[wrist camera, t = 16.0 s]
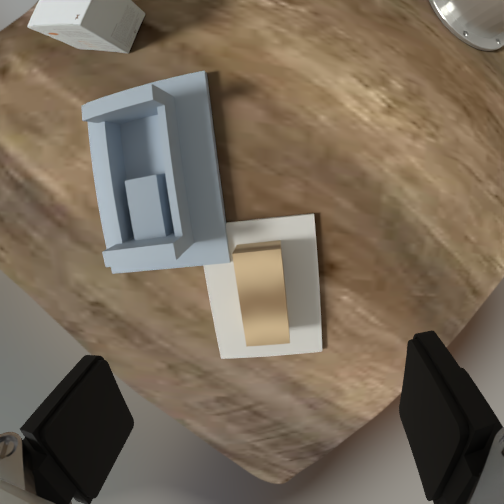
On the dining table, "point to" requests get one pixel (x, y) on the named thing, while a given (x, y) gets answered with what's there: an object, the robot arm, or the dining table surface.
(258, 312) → the oak block
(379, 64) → the dining table surface
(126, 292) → the dining table surface
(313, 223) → the mat
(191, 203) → the jig
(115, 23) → the small box
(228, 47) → the dining table surface
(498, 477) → the robot arm
